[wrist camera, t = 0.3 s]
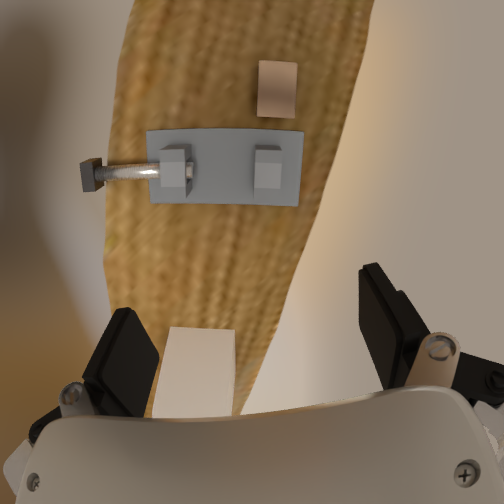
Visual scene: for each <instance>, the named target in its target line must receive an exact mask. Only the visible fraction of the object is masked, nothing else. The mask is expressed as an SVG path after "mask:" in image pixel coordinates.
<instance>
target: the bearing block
mask: <svg viewBox="0 0 504 504" xmlns="http://www.w3.org/2000/svg"><path fill="white" fill-rule="evenodd" d="M146 141H147V162H148V163H160V177H161V179H149V191H150V202H151V203H209V204H252V205H279V206H298V200H299V189H300V178H301V166H302V154H303V141H304V132H302V131H289V130H273V129H249V128H190V129H167V130H151V131H146ZM186 162H193V163H194V177H193V178H187V176H186Z"/></svg>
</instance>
